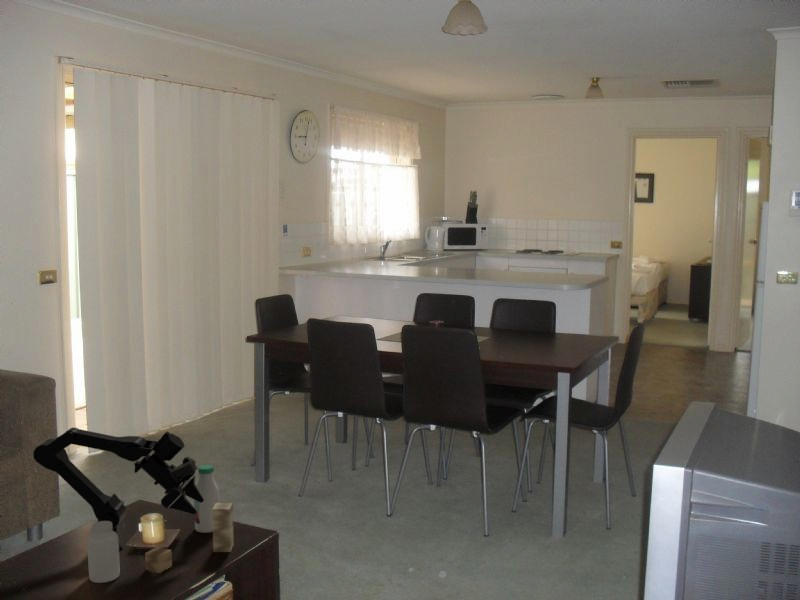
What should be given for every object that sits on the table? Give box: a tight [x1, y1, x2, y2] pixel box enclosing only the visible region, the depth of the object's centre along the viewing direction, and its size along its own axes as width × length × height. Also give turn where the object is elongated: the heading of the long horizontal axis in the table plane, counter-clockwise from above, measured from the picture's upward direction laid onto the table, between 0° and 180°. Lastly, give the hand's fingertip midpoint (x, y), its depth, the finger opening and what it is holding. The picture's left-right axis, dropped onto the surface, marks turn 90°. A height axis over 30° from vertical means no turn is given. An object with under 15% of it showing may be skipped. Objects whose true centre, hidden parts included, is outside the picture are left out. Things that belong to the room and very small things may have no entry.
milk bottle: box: [193, 464, 221, 534], centre depth 250 cm, size 8×8×20 cm
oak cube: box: [144, 545, 173, 574], centre depth 224 cm, size 5×5×5 cm
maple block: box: [212, 502, 235, 553], centre depth 236 cm, size 5×5×13 cm
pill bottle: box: [86, 521, 121, 584], centre depth 218 cm, size 8×8×15 cm
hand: (199, 507), depth 235 cm, fingers open, 9 cm apart
